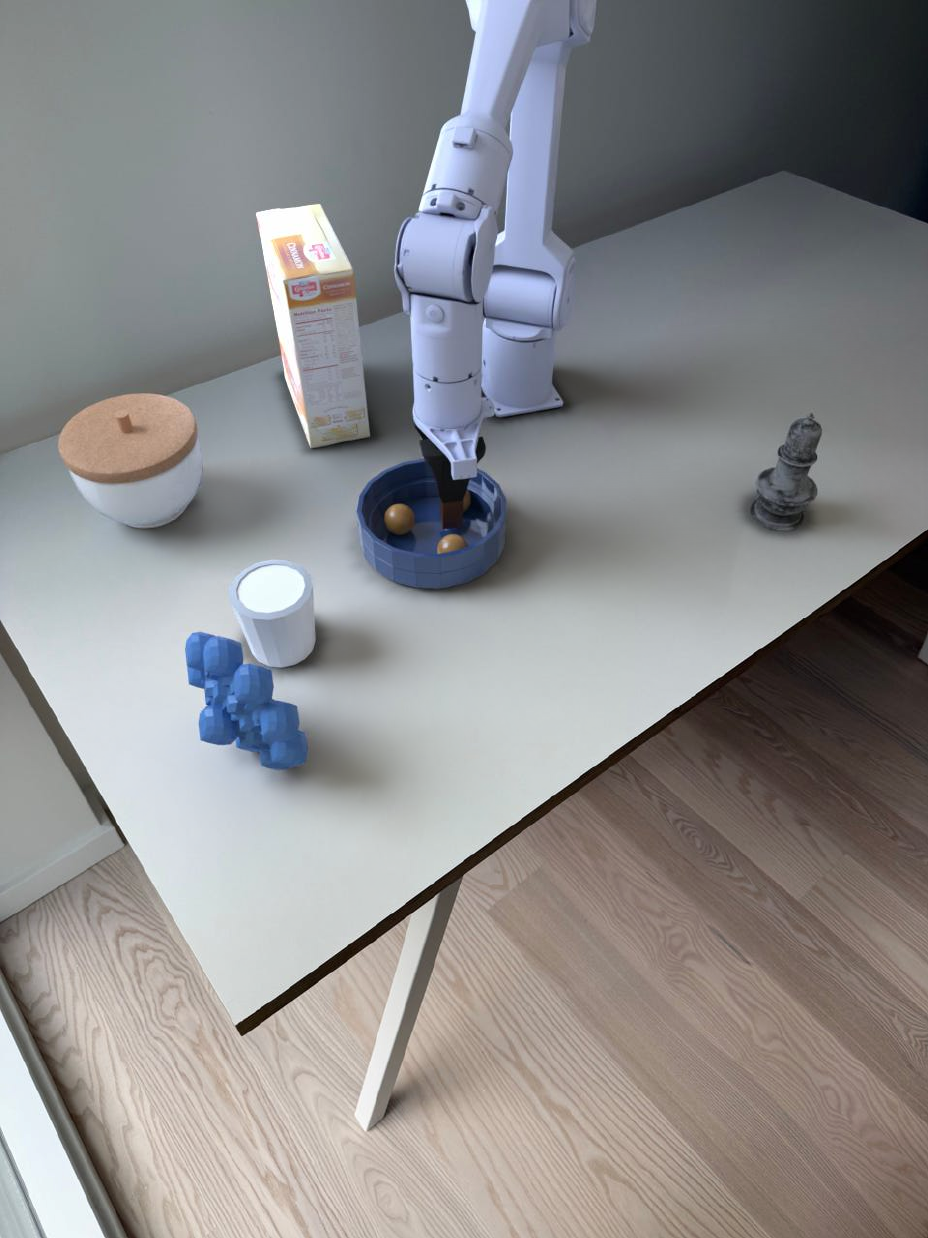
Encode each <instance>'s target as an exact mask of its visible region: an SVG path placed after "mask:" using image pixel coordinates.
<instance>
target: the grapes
mask: <svg viewBox="0 0 928 1238" xmlns="http://www.w3.org/2000/svg"><path fill="white" fill-rule="evenodd" d="M184 652H185V653H184V654H185V662H186V667H187V668H186V671H187V679H188V680H187V681H188V685H189V686H193V687H195V688H198V689H202V690H203V691H204V702H205V707H204V708H203V709H202V710H201V711H200V713H199V717H198V729H199V730H198V731H199V739H200V741H201V742H205V743H208V744H211V745H216V746H230V745H232V744H233V743H234V742H235V747H236V748H237V749H240V750H243V751H247V752H252V753H258V754H259V761H260V766H262V767H264V768H267V769H272V770H276V771H283V770H284V771H285V770H290V769H291V768H292V767H293V768H294V767H301V766H302V765H303V764H304V763H305V762H306V761H307V756H308V749H309V748H308V739H307V735H306V732H305V731H303V730H300V716H299V710H298V706H297V705H295V704H293V703H290V702H286V701H281V700H277V699H273V696H274V688H275V686H274V677H273V671H272V669H270V668H267V667H265V666H261V665H257V664H253V663H244V652H243V645H242V642H240V641H237V640H235V639H233V638H232V639H231V638H229V637H224V636H220V635H215V634H211V633H208V632H203V631H195V632H192V633H191V634H189V637H187V639H186V640H185V648H184Z"/></svg>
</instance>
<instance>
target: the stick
mask: <svg viewBox="0 0 928 1238" xmlns="http://www.w3.org/2000/svg"><path fill="white" fill-rule="evenodd" d="M463 502H464V499H463V500H462V501H457V502H450V503H442V502H441V500H440V497H439V517H440V521H441V525H442V529H450V528H459V527H463Z"/></svg>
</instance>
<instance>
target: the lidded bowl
mask: <svg viewBox="0 0 928 1238" xmlns="http://www.w3.org/2000/svg"><path fill="white" fill-rule="evenodd" d="M57 448H58V453H59V455H60V458H61V459H62V461H63V464H64V465H65V467H66V468H67V470H68V472H69V474H70V476H71V479H72V481H73V483H74V484H75V486H76V488H77V489H78V491H79V493H80V494H81V496H83V498H84V499H85V501H87V503H88V504H89V505H90V506H91V507H92V508H93V509H94V510H95V511H97V512H98V513H100V514H101V515H103V516H104V517H106V518H108V519H110V520H111V521H115V522H117V523H121V524H123V525H125V526H127V527H132V528H135V529H155V528H158V527H162V526H165V525H167V524H169V523H171V522H174V521H175V520H177V519H178V518H179V517H180V516H182V515H183V513H184V512H185V511H186V509H187V507H188V505H190V503H191V502H192V501H193V499H194V498H195V496H196V495H197V492H198V490H199V488H200V486H201V481H202V477H203V468H204V467H203V465H204V464H203V451H202V446H201V441H200V437H199V428H198V424H197V420H196V417H195V415H194V414H193V411H192V410H191V409H190V408H189V407H188V406H187V405H186V404H184V403H182V402H181V401H180V400H177V399H176V398H173V397H171V396H166V395H163V394H156V393H147V392H142V393H127V394H122V395H118V396H113V397H109V398H106V399H103V400H101V401H98V402H95V403H94V404H91V405H89V406H87V407H86V408H84V409H82V410H81V411H79V412H78V413H76V414H75V415H74V416H73V417H71V418H70V419H69V420H68V422H67V423H66V424H65V425H64V427H63V428H62V430H61V432H60V434H59V437H58V441H57Z"/></svg>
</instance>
